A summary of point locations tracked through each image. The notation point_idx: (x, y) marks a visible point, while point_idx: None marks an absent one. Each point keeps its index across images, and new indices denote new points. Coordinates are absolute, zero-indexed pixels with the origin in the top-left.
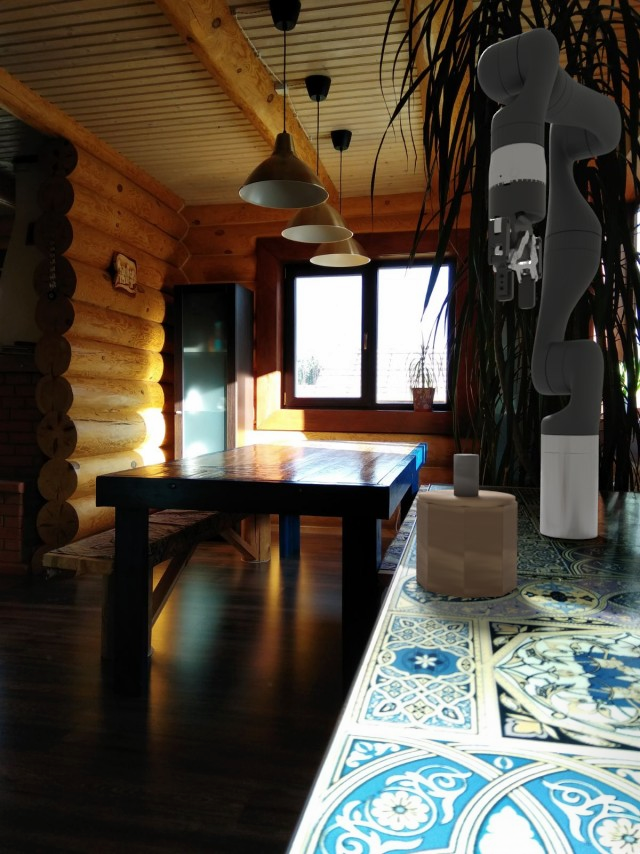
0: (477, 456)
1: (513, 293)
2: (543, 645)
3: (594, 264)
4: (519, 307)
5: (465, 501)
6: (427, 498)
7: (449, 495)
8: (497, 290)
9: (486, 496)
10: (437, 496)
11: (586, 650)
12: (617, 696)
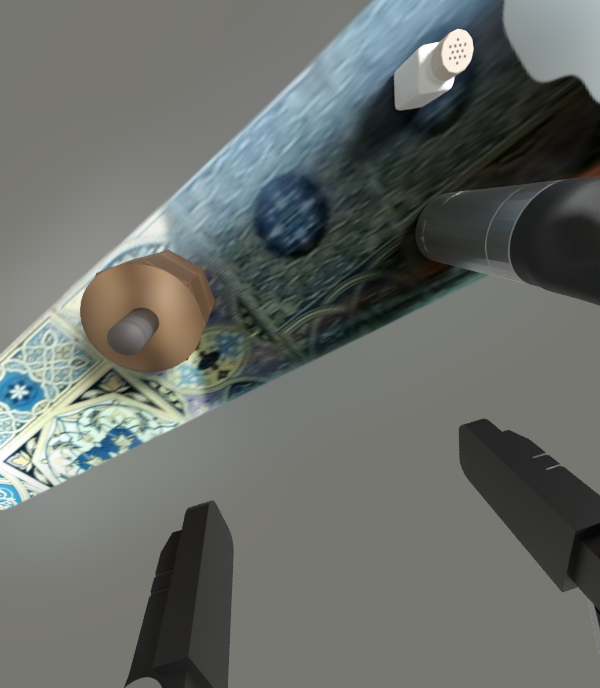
0: (132, 354)
1: (230, 567)
2: (110, 411)
3: None
4: (463, 425)
5: (106, 352)
6: (80, 312)
7: (123, 310)
8: (159, 560)
9: (158, 341)
10: (102, 308)
11: (128, 427)
12: (89, 462)
